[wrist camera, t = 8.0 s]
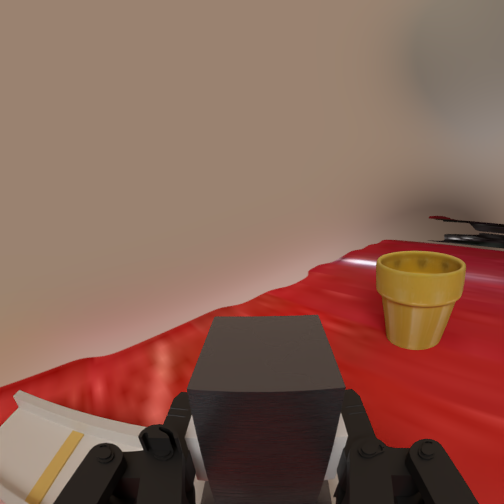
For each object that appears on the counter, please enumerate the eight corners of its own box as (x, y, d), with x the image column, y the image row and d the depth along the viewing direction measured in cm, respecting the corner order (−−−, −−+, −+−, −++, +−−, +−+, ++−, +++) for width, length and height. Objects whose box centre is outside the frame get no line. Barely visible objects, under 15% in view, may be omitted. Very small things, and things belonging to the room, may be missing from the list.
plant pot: (411, 376, 23) (427, 279, 21) (354, 336, 33) (358, 257, 31) (467, 343, 26) (481, 262, 24) (412, 316, 35) (418, 247, 33)
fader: (196, 560, 7) (111, 424, 4) (214, 461, 13) (189, 300, 11) (333, 559, 6) (420, 421, 4) (318, 460, 13) (342, 297, 11)
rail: (-23, 486, 6) (-47, 457, 6) (33, 418, 16) (19, 390, 16) (387, 575, 5) (410, 561, 5) (357, 457, 15) (367, 428, 14)
